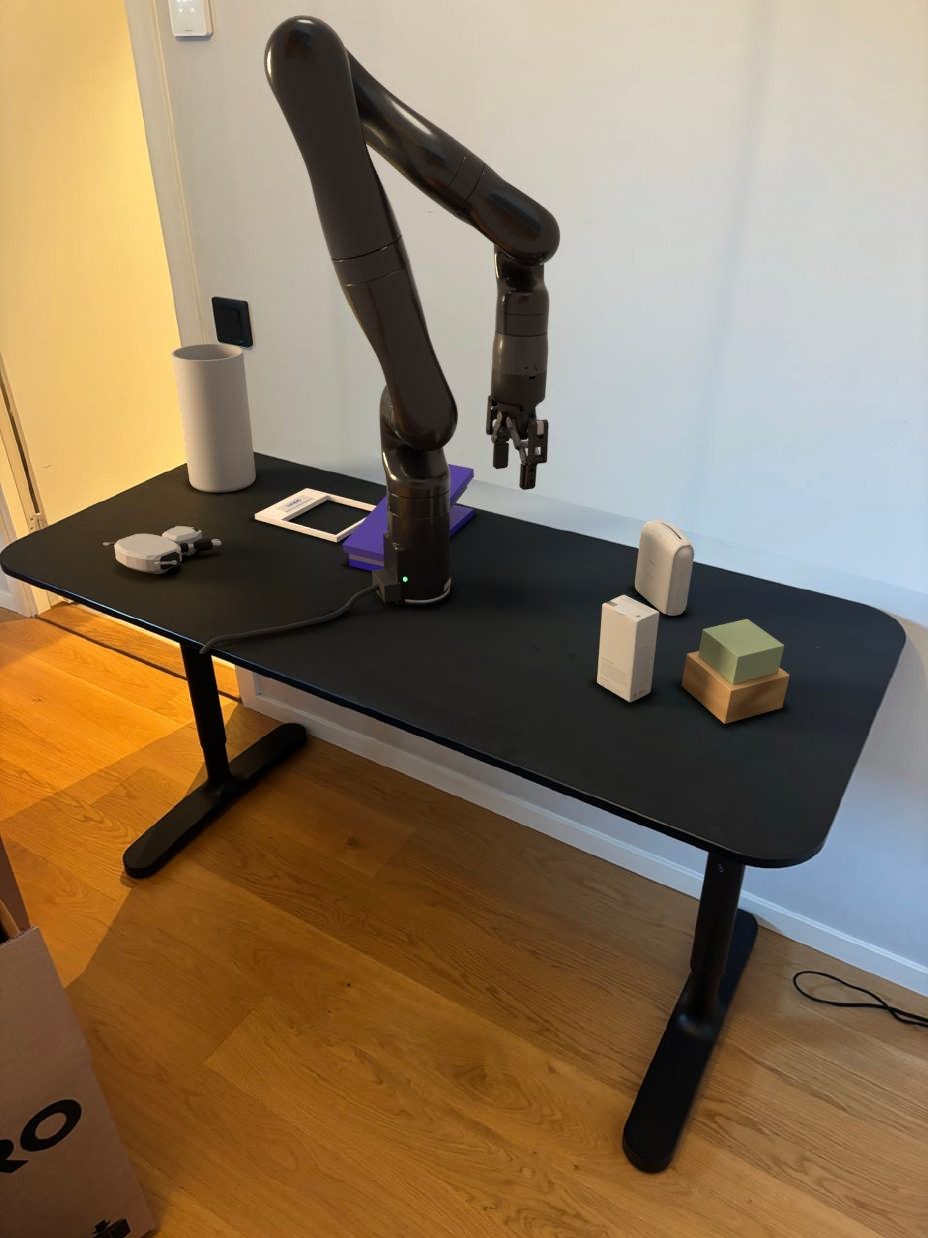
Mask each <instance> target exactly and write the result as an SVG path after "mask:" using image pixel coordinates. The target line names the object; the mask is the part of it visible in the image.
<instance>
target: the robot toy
mask: <svg viewBox="0 0 928 1238" xmlns="http://www.w3.org/2000/svg"><path fill="white" fill-rule="evenodd" d="M202 533H203V532H202V530H201V529H198V528H197V529H196V528H195V527H193V526H192V527H191V526H185V525H184V526H183V525H174V524H173V525H172V524H171V525H167V527H166V528H164V531H163V533H162V534H160V535H157V534H151V533H135V534H133V535H130V536H126V537H124V538H121V539H118V540H117V541H116V542H103V543H102V545H103V546H114V553H115V559H116V561H117V562H119V563H120V564H122V565H123V566H126V567H127V568H129V569H131V570H134V571H139V572H144V573H149V574H153V575H162V574H164V573H166V572H168V570H170V569H172V568H175V567H177V566H179V565H180V563H181V562H182V561H183V558H182V557H183V556H187V557H188V556H192V555H194V554H196V552H197V551H199V552H207V551H213V547H216V548H217V547H221V545H222V541H221V540H220V539H218V538H213V539H211V537H205V538H204V537H203V534H202Z"/></svg>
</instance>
